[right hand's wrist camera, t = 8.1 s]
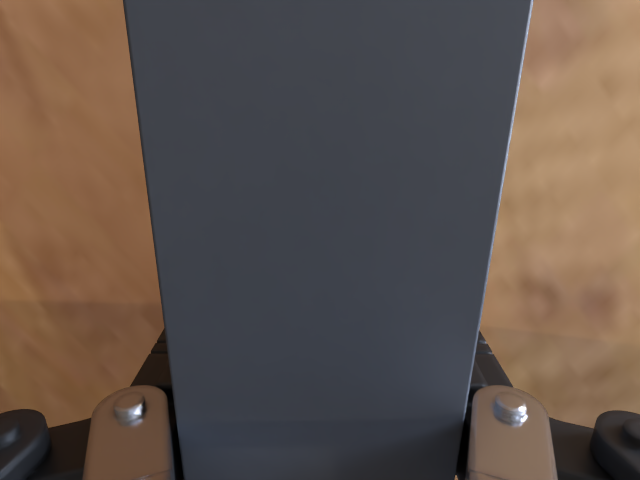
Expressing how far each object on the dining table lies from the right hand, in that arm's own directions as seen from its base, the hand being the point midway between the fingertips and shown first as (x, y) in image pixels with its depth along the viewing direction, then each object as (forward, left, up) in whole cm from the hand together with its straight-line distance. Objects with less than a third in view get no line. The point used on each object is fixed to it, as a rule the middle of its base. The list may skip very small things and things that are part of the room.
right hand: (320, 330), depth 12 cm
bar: (+21, -15, -3) cm, 26 cm away
